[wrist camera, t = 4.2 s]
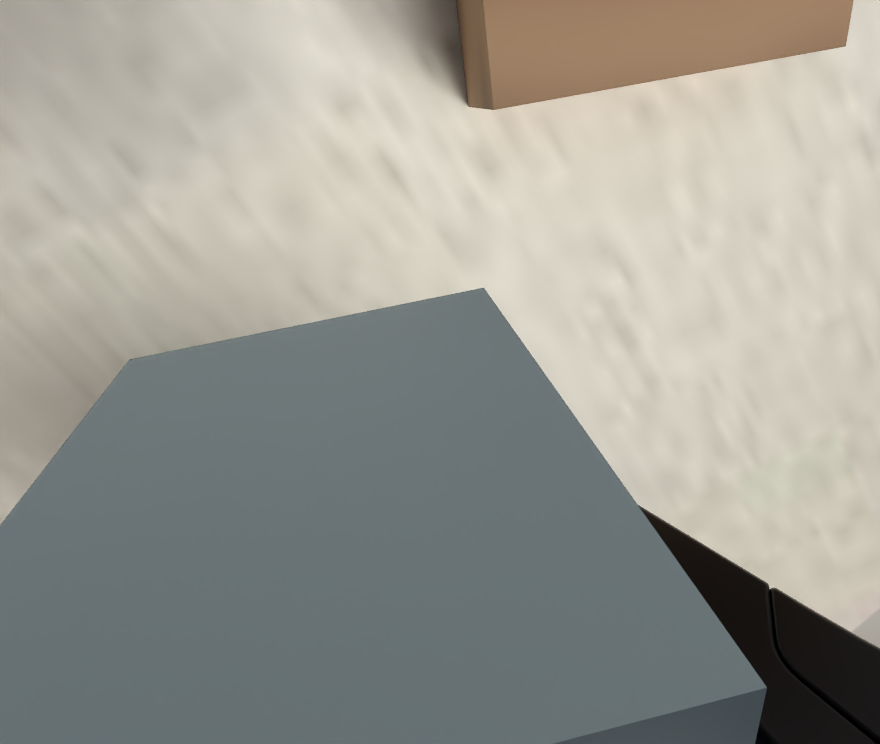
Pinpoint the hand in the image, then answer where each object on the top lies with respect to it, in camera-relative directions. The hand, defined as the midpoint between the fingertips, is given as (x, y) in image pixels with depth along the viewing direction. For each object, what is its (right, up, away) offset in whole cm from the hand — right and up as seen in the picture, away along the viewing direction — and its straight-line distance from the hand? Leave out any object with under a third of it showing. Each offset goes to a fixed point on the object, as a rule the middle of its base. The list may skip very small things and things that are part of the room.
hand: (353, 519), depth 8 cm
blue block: (0, +1, +1) cm, 1 cm away
